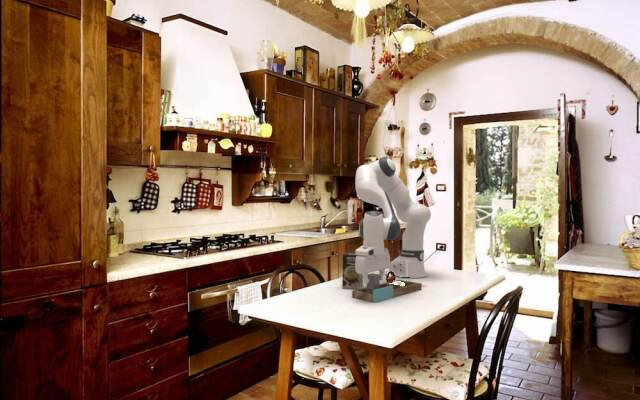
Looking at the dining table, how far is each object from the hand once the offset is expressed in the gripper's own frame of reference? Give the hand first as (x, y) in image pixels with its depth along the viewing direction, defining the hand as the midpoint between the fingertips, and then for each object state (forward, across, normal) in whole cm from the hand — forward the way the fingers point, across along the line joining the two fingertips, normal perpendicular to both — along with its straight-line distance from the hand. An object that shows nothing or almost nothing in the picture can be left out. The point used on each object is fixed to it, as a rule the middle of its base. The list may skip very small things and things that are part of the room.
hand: (373, 281), depth 196 cm
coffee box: (+7, -9, -19) cm, 22 cm away
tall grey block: (+7, 0, 0) cm, 7 cm away
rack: (+7, -11, 0) cm, 13 cm away
